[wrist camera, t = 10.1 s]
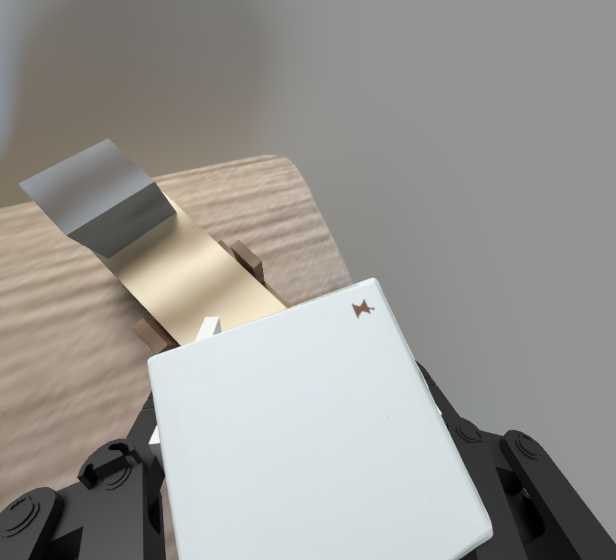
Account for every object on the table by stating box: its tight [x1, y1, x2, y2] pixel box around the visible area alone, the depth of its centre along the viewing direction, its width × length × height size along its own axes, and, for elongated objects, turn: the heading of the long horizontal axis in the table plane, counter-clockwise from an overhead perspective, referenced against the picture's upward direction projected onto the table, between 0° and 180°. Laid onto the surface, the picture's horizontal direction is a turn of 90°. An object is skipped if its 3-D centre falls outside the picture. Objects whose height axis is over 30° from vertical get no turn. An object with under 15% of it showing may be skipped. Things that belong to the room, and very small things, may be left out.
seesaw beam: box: [19, 139, 287, 346], centre depth 18 cm, size 28×8×6 cm, turn 48°
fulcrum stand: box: [131, 240, 291, 355], centre depth 22 cm, size 12×11×8 cm
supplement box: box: [147, 278, 493, 560], centre depth 11 cm, size 7×7×13 cm
